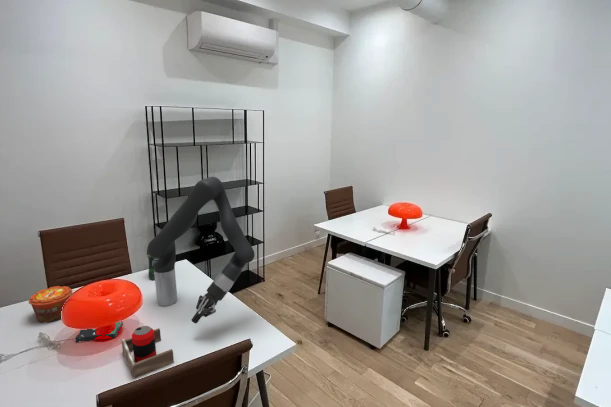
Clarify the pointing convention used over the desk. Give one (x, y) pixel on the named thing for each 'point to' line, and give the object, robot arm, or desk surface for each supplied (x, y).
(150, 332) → the soda can
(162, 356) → the frame
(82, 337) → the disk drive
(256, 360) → the desk surface
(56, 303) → the food container
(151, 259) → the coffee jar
